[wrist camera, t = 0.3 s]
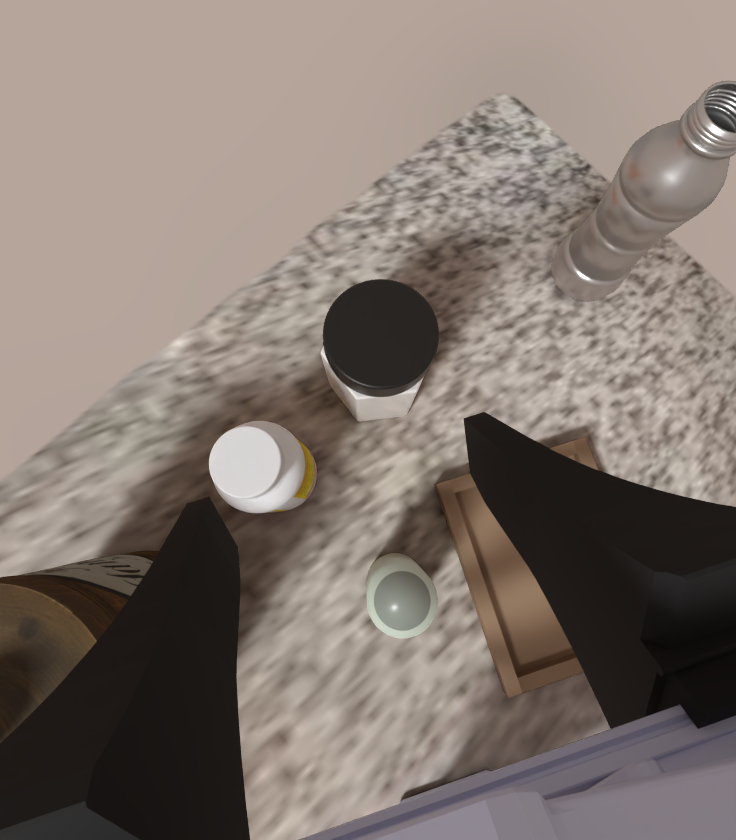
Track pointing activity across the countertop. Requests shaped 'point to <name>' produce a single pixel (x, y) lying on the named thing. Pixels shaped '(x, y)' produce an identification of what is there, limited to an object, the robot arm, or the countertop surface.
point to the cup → (400, 596)
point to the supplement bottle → (262, 468)
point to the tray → (509, 588)
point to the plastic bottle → (651, 195)
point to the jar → (378, 347)
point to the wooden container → (57, 625)
